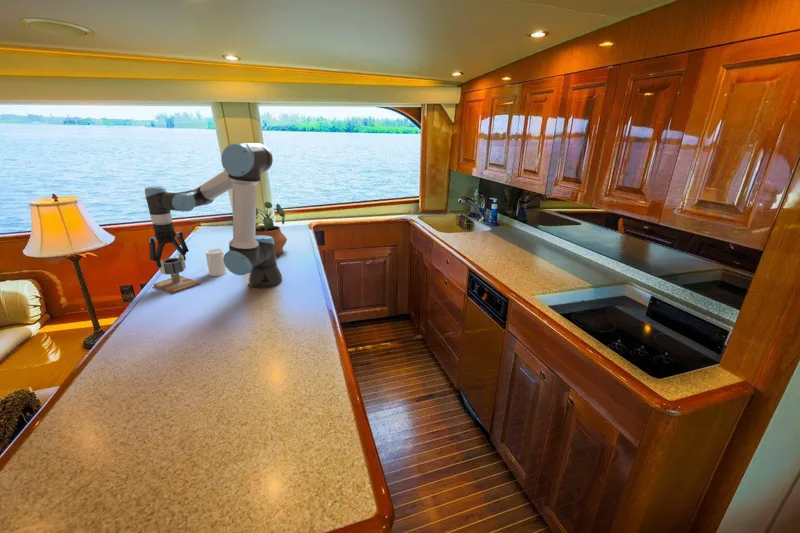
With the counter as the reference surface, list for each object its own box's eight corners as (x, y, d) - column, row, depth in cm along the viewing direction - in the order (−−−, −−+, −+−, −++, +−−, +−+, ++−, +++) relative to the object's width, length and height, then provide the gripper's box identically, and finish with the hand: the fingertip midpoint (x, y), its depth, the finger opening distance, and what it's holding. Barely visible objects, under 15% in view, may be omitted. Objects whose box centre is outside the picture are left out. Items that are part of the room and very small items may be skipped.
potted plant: (291, 255, 200) (286, 206, 190) (240, 262, 188) (231, 209, 178) (285, 245, 219) (280, 199, 209) (238, 250, 207) (230, 202, 197)
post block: (200, 284, 159) (196, 264, 156) (174, 293, 149) (169, 272, 146) (180, 277, 166) (175, 258, 162) (154, 286, 156) (148, 265, 152)
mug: (218, 279, 166) (213, 256, 161) (201, 278, 166) (196, 255, 162) (230, 270, 177) (227, 248, 172) (215, 269, 177) (211, 248, 173)
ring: (188, 269, 157) (186, 259, 155) (169, 275, 150) (167, 265, 148) (177, 266, 160) (175, 256, 159) (158, 271, 153) (156, 261, 152)
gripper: (181, 217, 157) (191, 262, 165) (130, 226, 140) (143, 276, 148) (191, 219, 154) (200, 265, 162) (140, 228, 136) (153, 279, 144)
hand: (173, 270), depth 155 cm, fingers closed on ring, 8 cm apart
